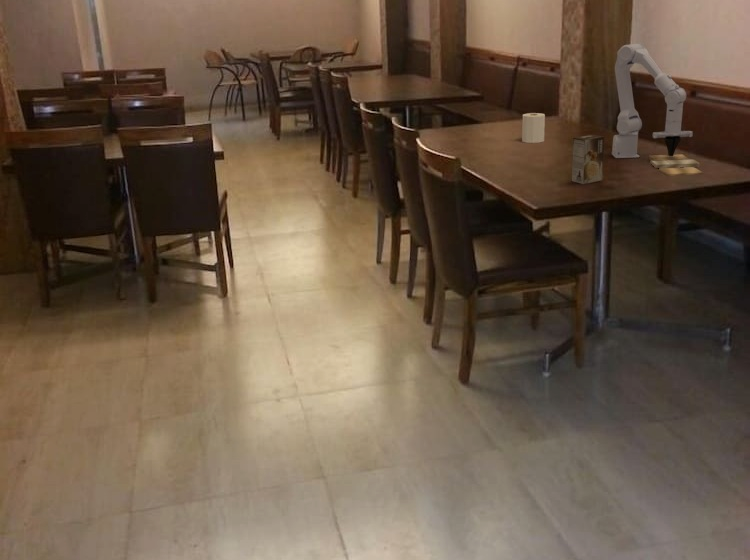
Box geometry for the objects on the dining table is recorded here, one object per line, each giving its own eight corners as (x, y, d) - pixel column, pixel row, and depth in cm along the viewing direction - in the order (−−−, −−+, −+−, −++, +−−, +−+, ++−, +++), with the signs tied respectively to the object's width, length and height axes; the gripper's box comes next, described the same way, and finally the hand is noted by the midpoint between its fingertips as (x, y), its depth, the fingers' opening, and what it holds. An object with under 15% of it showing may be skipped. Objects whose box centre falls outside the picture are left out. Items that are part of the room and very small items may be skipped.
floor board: (656, 168, 291) (656, 164, 290) (650, 164, 298) (650, 159, 298) (699, 167, 290) (699, 162, 289) (692, 162, 297) (692, 158, 296)
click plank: (655, 163, 299) (655, 160, 298) (648, 158, 307) (649, 155, 307) (689, 162, 298) (689, 159, 297) (682, 157, 306) (682, 154, 306)
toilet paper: (537, 138, 359) (537, 112, 355) (548, 141, 350) (549, 115, 346) (517, 140, 356) (518, 114, 352) (528, 143, 347) (529, 117, 343)
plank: (667, 177, 280) (667, 174, 279) (658, 171, 288) (659, 168, 288) (703, 175, 280) (703, 172, 279) (693, 170, 288) (693, 167, 288)
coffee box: (590, 177, 283) (592, 134, 277) (602, 180, 277) (605, 136, 272) (571, 181, 279) (572, 137, 273) (583, 184, 273) (585, 139, 268)
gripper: (657, 123, 292) (654, 158, 297) (696, 121, 291) (693, 157, 296) (652, 120, 299) (649, 154, 303) (690, 118, 297) (687, 153, 302)
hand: (670, 155), depth 300 cm, fingers closed
